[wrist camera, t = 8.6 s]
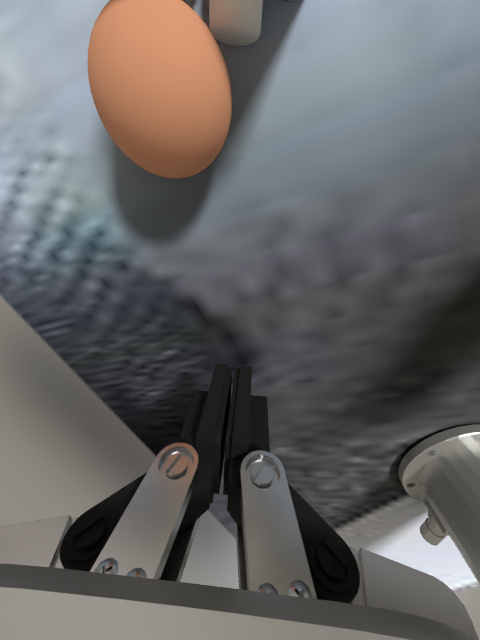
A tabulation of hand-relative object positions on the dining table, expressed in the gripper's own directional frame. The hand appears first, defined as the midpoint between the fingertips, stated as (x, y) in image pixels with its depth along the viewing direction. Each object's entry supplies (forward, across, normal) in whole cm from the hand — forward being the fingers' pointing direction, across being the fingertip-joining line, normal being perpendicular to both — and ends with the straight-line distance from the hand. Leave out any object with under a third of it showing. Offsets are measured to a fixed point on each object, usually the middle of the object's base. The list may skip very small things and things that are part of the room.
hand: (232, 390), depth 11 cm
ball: (+5, +4, -12) cm, 14 cm away
